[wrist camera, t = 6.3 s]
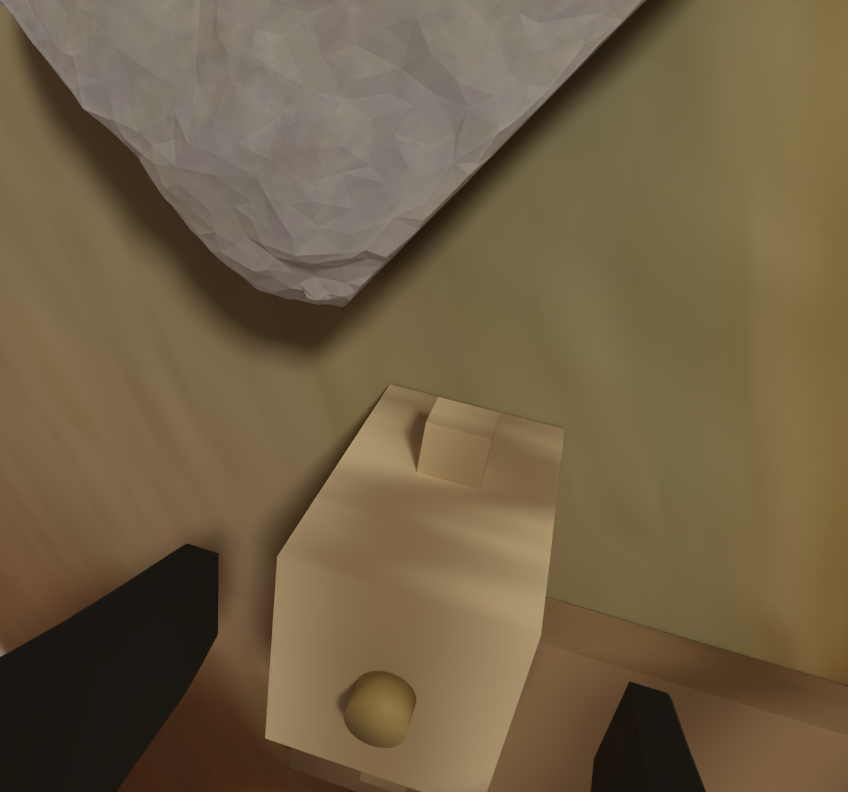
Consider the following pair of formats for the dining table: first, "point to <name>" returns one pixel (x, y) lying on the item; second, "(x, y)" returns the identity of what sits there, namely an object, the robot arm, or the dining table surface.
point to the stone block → (314, 112)
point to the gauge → (416, 594)
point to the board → (693, 700)
